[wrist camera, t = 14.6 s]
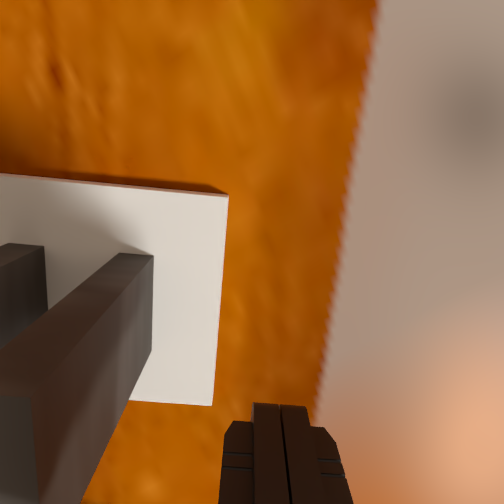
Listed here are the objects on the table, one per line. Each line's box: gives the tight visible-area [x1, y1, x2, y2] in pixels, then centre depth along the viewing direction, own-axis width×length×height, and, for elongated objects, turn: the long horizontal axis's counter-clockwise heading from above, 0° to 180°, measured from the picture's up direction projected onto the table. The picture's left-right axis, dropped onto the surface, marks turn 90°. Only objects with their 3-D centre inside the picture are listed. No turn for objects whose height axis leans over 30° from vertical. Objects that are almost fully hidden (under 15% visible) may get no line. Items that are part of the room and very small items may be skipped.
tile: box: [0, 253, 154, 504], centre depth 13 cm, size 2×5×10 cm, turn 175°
